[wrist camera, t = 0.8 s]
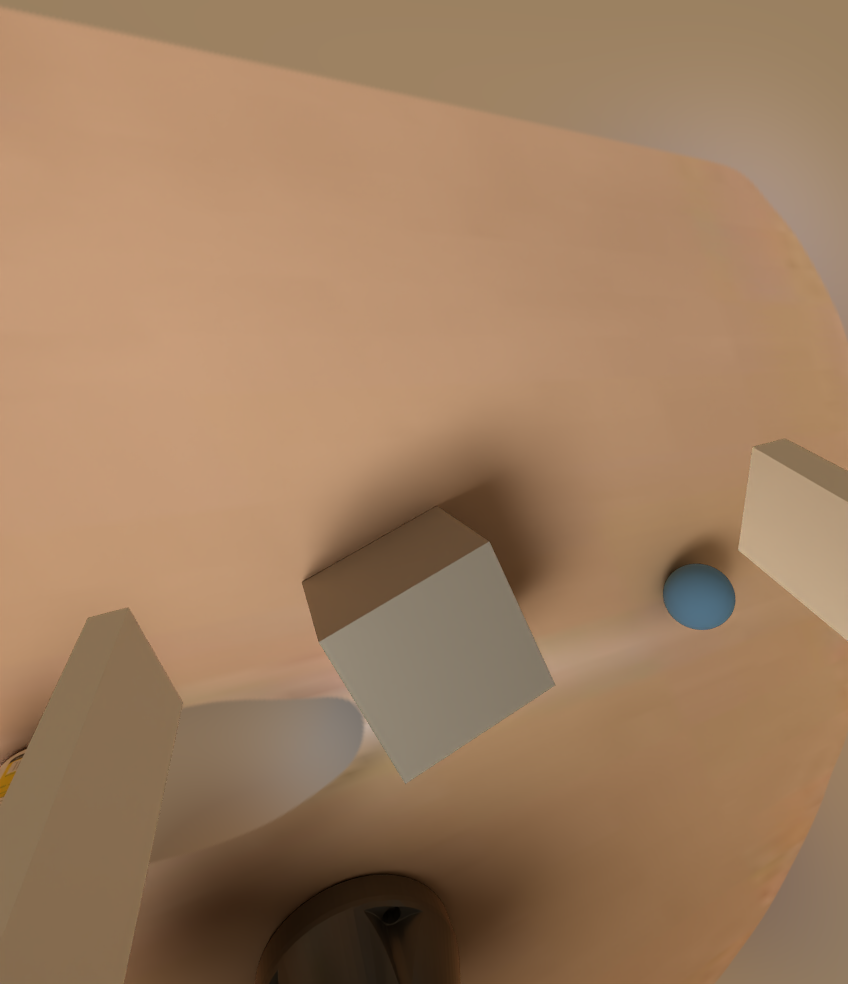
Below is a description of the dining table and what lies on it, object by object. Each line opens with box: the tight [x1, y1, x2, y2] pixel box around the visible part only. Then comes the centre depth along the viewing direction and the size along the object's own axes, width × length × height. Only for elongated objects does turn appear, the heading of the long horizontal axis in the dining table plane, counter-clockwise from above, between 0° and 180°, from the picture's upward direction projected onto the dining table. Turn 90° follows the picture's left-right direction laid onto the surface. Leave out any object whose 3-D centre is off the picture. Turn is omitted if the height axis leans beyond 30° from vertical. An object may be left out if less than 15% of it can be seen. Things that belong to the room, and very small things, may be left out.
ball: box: [663, 564, 735, 630], centre depth 44 cm, size 5×5×5 cm
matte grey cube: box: [302, 506, 555, 784], centre depth 35 cm, size 10×10×9 cm
